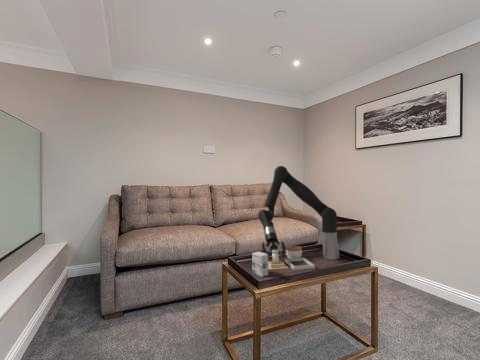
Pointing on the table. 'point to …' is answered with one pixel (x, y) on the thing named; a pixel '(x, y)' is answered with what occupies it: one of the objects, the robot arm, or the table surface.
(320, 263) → the table surface
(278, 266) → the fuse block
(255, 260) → the ink box
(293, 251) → the lidded jar
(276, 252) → the fuse
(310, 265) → the parts tray
